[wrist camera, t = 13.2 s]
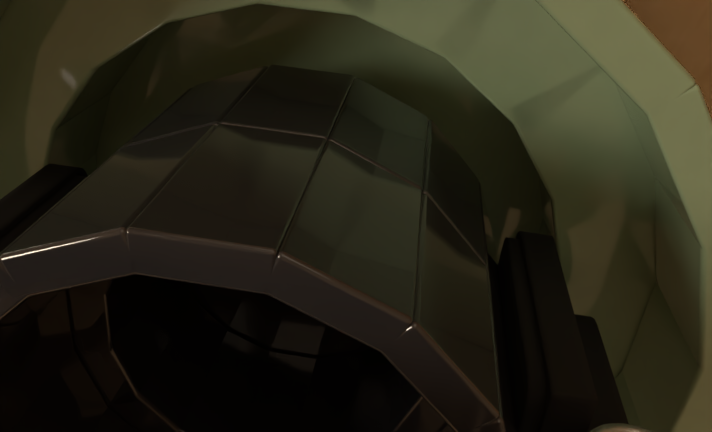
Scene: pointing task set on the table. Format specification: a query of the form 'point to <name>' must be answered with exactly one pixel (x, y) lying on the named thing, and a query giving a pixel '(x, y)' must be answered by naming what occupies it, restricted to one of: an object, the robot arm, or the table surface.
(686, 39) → the table surface
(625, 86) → the big bowl
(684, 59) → the table surface
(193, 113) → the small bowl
